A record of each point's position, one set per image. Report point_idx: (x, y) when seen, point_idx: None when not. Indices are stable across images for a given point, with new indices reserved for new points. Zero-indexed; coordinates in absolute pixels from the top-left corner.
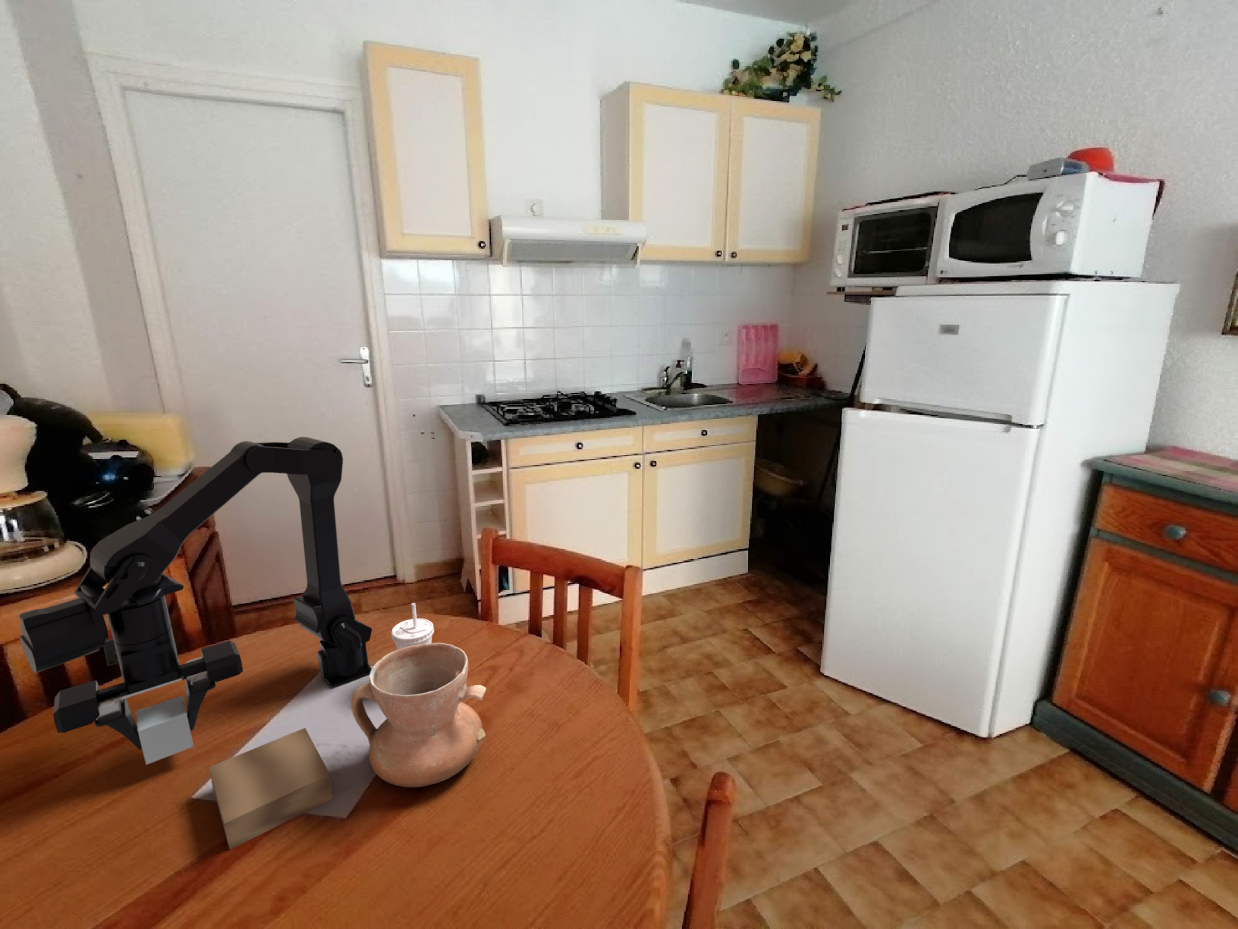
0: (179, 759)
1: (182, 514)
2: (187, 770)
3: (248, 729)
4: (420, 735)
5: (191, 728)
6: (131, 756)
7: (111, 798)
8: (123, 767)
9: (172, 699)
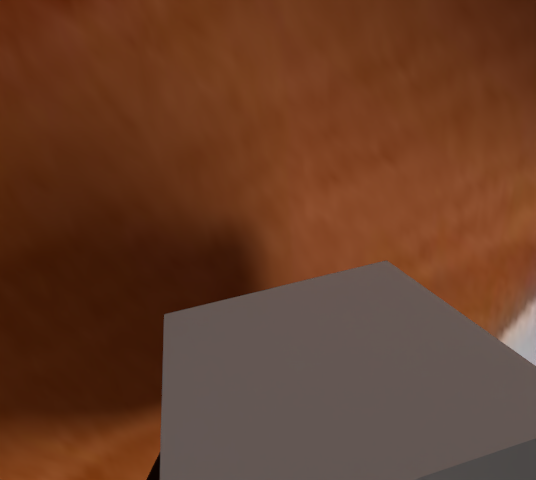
0: None
1: None
2: None
3: (532, 242)
4: None
5: None
6: (76, 204)
7: (76, 461)
8: (62, 281)
9: (519, 461)
